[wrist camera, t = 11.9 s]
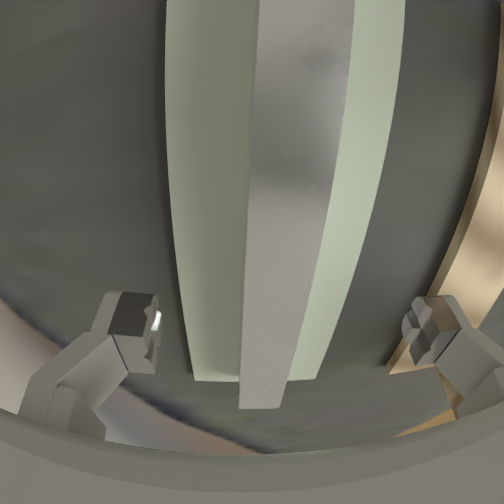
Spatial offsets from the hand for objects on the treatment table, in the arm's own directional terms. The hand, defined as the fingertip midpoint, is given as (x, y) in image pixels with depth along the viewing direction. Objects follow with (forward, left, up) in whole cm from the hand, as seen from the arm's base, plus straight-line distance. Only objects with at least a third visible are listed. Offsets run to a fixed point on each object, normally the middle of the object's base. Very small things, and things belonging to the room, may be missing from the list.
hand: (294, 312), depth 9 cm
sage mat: (+1, 0, -7) cm, 7 cm away
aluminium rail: (+1, 0, -7) cm, 7 cm away
